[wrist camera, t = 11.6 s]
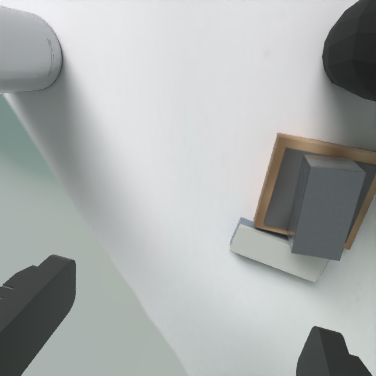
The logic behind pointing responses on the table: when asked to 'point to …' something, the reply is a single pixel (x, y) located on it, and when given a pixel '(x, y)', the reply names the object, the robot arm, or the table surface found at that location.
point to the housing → (324, 205)
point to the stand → (288, 175)
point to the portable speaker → (353, 50)
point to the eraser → (274, 251)
